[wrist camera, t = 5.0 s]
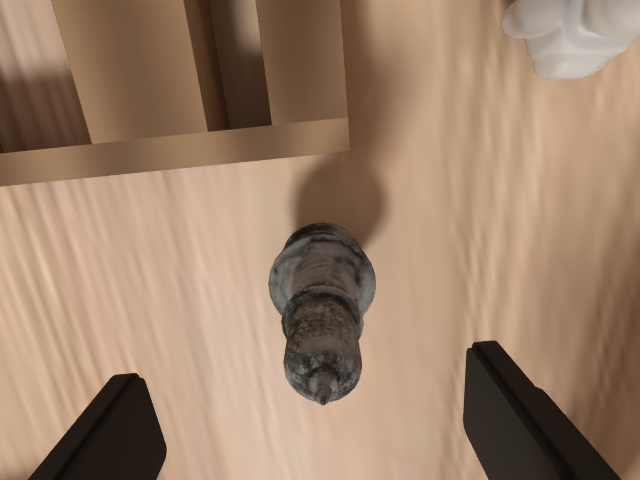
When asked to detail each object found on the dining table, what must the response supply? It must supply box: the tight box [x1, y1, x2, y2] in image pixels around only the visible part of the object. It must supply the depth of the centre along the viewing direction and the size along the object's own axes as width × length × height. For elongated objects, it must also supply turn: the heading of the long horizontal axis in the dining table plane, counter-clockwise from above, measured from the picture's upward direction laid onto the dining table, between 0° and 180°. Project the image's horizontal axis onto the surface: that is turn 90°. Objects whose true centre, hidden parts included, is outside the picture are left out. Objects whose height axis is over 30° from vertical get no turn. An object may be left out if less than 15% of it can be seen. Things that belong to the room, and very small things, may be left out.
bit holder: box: [0, 0, 350, 186], centre depth 16 cm, size 22×11×4 cm, turn 96°
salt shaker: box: [268, 223, 376, 405], centre depth 16 cm, size 6×6×12 cm
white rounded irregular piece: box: [501, 0, 640, 80], centre depth 14 cm, size 5×7×8 cm
